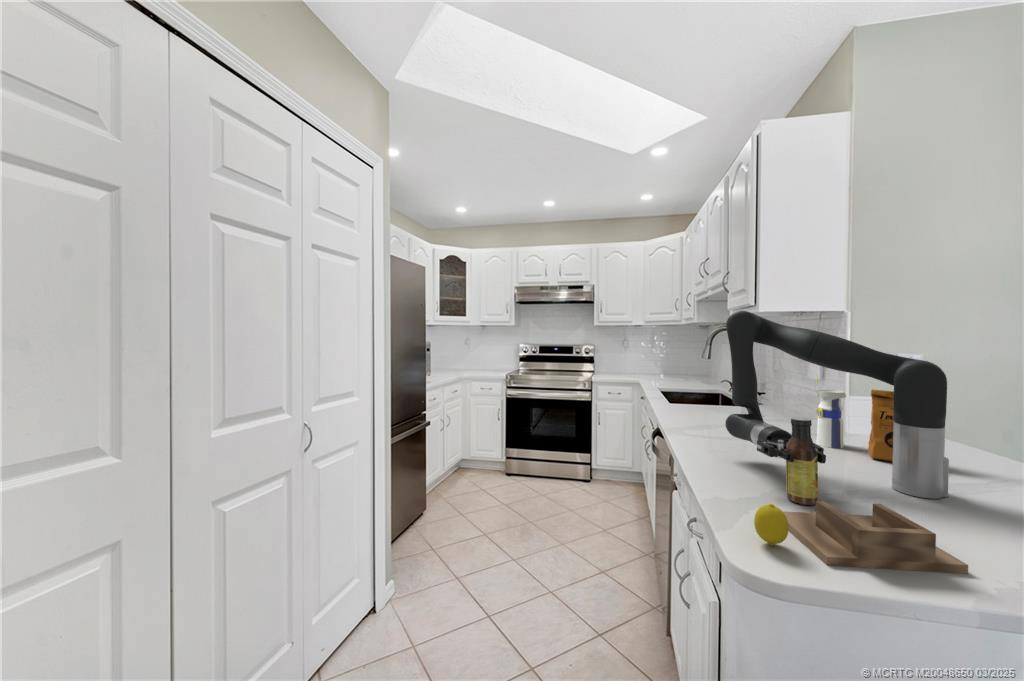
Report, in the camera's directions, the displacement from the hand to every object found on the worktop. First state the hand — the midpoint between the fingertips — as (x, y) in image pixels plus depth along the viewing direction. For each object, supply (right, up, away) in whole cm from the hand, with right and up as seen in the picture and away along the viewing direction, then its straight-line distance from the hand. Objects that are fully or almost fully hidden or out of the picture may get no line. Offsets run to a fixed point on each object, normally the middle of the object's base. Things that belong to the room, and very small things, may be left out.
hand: (807, 458), depth 95 cm
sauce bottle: (0, -11, +3) cm, 11 cm away
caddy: (-2, -12, -16) cm, 20 cm away
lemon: (-20, -12, -17) cm, 29 cm away
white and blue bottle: (+43, -10, +49) cm, 66 cm away
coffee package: (+50, -10, +32) cm, 60 cm away
